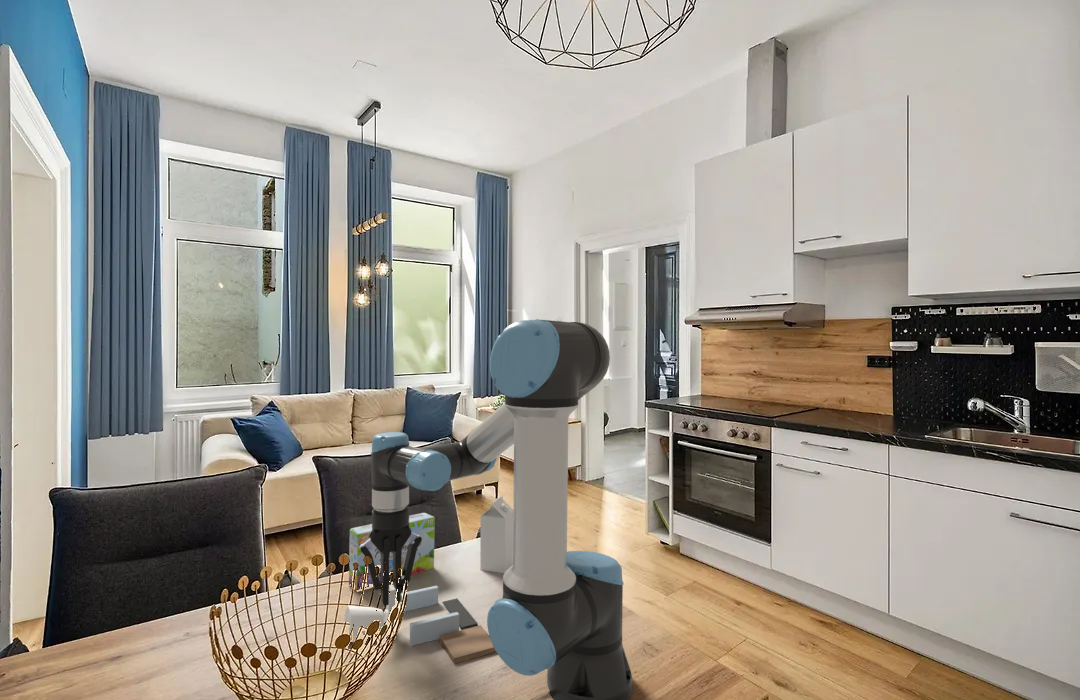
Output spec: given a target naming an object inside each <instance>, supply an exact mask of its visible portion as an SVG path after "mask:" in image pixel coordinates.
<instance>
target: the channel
mask: <svg viewBox="0 0 1080 700" xmlns="http://www.w3.org/2000/svg"><path fill="white" fill-rule="evenodd" d="M406 592H407V596H408V597H407V603H406V607H405V611H404V612H403V613H405V612H408V611H412V610H416V609H417V610H418V609H421V608H425V607H426V608H427V607H430V606H434V605H438V604H439V587H438V585H433V586H429V587H424V588H420V589H415V590H410V591H406ZM403 593H404V592H401V600H400V602H402V594H403ZM457 631H460V627H459V614H458V612H455V613H447V614H444V615H438V616H434V617H431V618H430V617H429V618H426V619H422V620H417V621H414V622H411V623H409V645H410V646H411V647H414V646H416V645H417V646H418V645H420V644H425V643H429V642H432V641H436V640H439V636H441V635H445V634H449V633H453V632H457Z"/></svg>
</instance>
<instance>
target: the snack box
mask: <svg viewBox="0 0 1080 700" xmlns="http://www.w3.org/2000/svg"><path fill="white" fill-rule="evenodd" d="M435 519H436V518H435V516H433V515H431V514H429V513H426V512H421V513H417V514H416V513H415V514H410V515H409V527H410V529H411V531H412V533H414V534H416V533H417V534H419V536H420V537H421V538H422V541H421V542H420V544H419V546H418V548H417V551H416V555H415V560H414V564H413V569H412V573H411V577H412V576H415V575H418V574H421V573H425V572H427V571H430V570H434V568H435V533H436V532H435V530H436V529H435V526H436V525H435V524H436V522H435ZM371 531H372V523H370V524H366V525H361V526H356V527H351V528H350V529H349V544H348V545H349V549H348V550H349V552H348V553H349V555H348V559H349V558H350V562H349V561H348V562H349V563H348V564H349V568H348V586H349V585H350V584H351V587H352V576H353V569H354V566H353V563H355V562H357V563H359V566H358V570H357V572H356V576H355V591H356V590H359V589H360V587H361V589H362V583H363V580H364V574H365V563H364V561H363V559H364V557H365V556H364V554H363V553H362V552H361V550H360V548H359V544H360V543H364V542H366V541H367V540H368V539H369V538H370V534H371ZM409 543H410V542H409V539H408V540H407V542H406V543H405V545H404V546H403V548H402V556H401V569H402V571H403V567H404V563H405V558H406V554H407V550H408V546H409ZM370 553H371V555H372V557H373V561H374V564H375V566H377V565H381V555H380V551H379V550H378V549H377V547H376V546H375V545H374V544H372V551H371V552H370ZM389 555H390V556H389V573H390V572H393V552H390V553H389ZM378 579H379V581H381V568H380V573H379V574H378ZM389 581H390V575H389ZM371 583H372V581H371V577H370V574H369V570H368V573H367V585H368V586H367V587H369V584H371ZM351 587H350V588H351ZM365 588H366V587H365ZM355 591H354V592H355Z"/></svg>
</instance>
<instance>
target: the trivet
mask: <svg viewBox="0 0 1080 700" xmlns="http://www.w3.org/2000/svg"><path fill="white" fill-rule="evenodd" d="M438 640H439V643H440V644H441V646H442V647H443V649H444V651H445V652H446V653H447V655H448V656H449V658H450V659H451V661H452V663H453V665H455V664H458V663H462V662H465V661H468V660H472V659H476V658H480V657H483V656H486V655H489V654H492V653H497V651H496V650H495V648H494V646H493V644H492V642H491V639H490V636H489V632H487V631H486V630H485V629H484V627H483V626H482V625H481V624H480V625H478V626H474V627H470V628H466V629H459V631H457V632H453V633H449V634H445V635H441V636H439V639H438Z"/></svg>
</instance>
